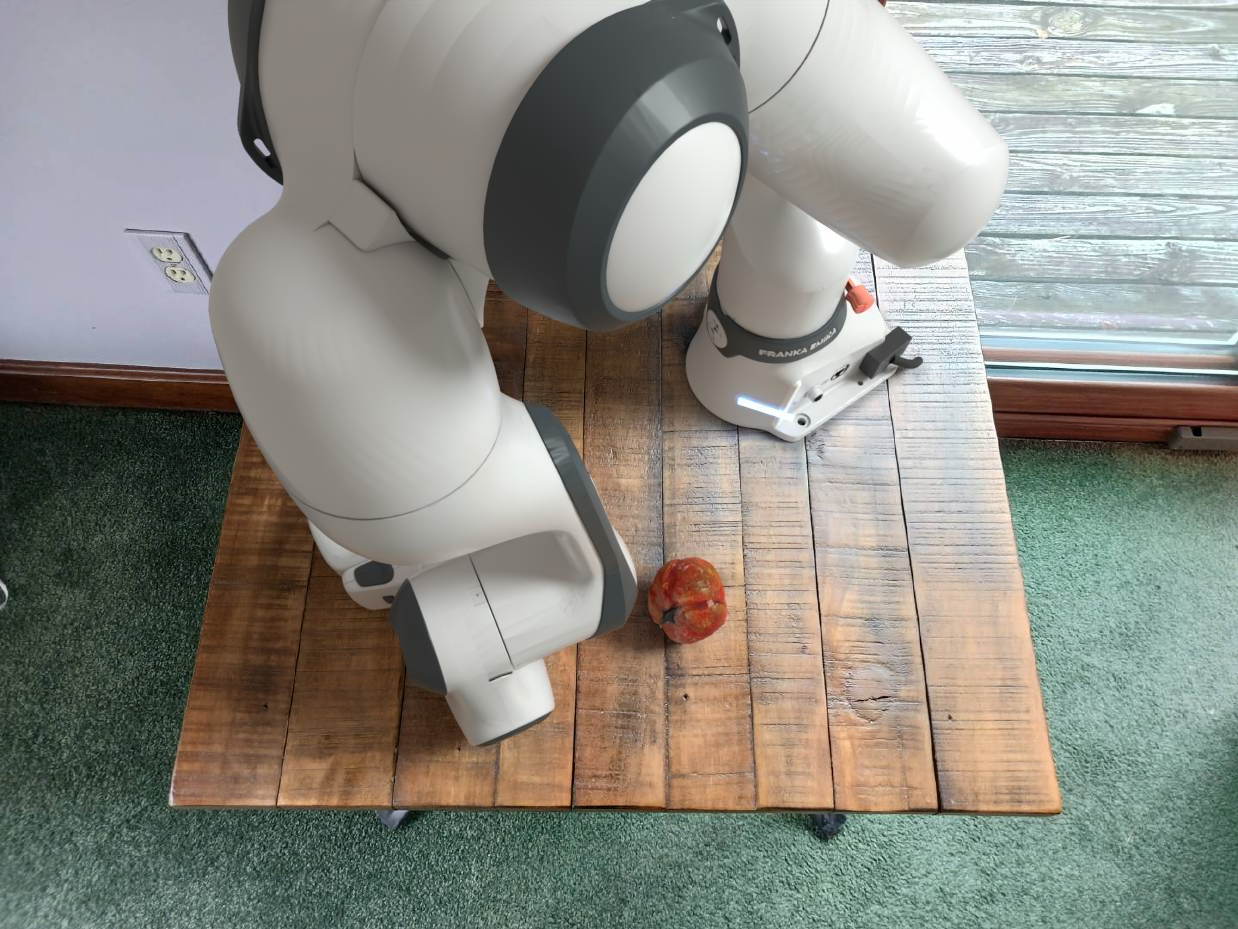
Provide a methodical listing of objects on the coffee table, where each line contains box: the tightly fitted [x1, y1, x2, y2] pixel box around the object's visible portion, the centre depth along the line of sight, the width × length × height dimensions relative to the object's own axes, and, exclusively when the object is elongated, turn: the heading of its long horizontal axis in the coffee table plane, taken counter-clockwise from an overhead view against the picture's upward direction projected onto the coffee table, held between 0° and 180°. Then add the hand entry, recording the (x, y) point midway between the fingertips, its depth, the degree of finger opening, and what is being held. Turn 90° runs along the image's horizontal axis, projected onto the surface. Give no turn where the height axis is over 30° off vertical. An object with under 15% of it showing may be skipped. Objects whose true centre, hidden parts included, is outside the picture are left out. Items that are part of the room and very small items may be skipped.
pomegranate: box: [647, 556, 728, 645], centre depth 72 cm, size 7×7×10 cm
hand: (399, 432), depth 76 cm, fingers closed
